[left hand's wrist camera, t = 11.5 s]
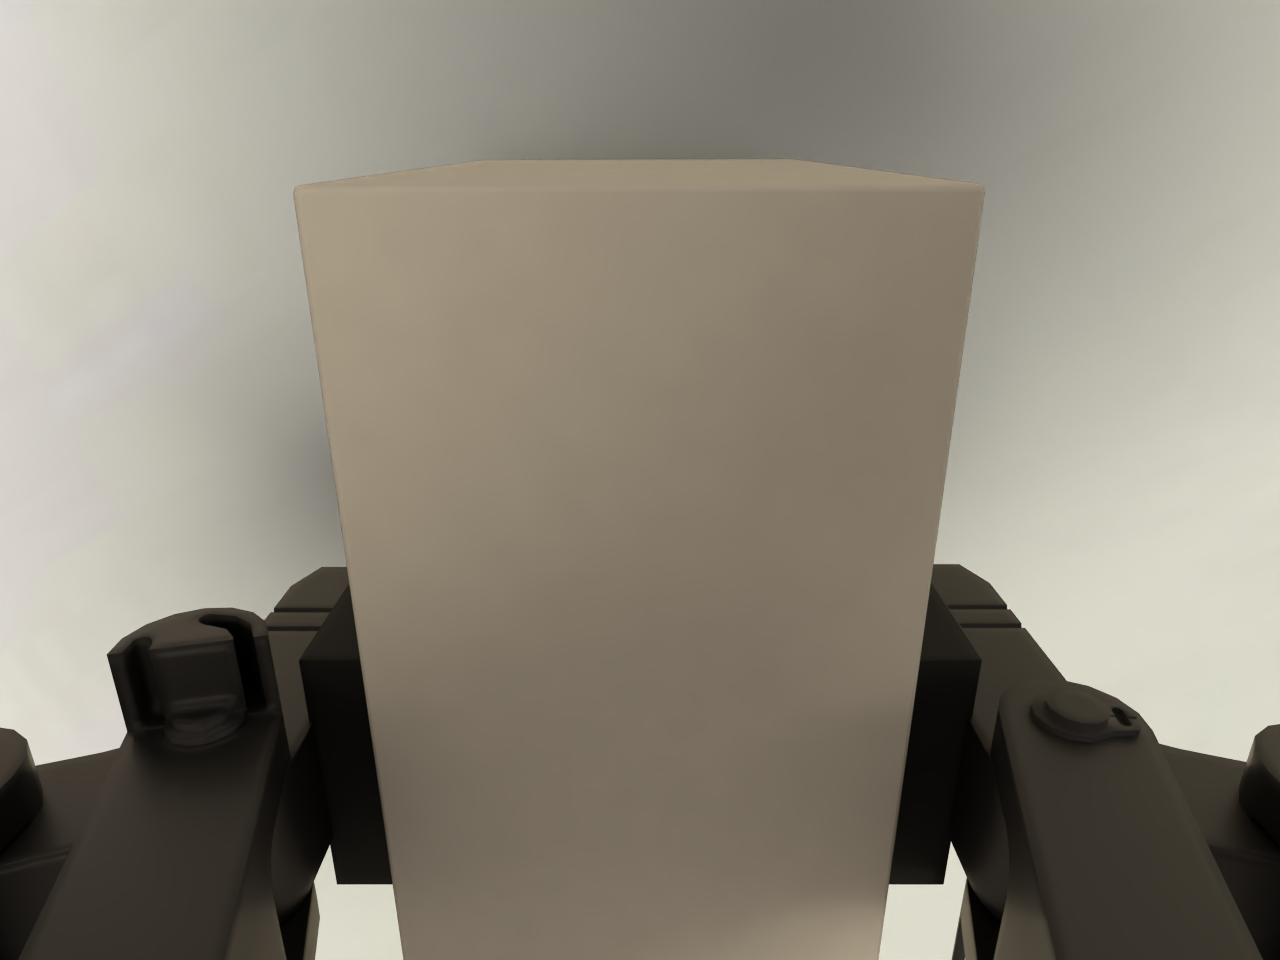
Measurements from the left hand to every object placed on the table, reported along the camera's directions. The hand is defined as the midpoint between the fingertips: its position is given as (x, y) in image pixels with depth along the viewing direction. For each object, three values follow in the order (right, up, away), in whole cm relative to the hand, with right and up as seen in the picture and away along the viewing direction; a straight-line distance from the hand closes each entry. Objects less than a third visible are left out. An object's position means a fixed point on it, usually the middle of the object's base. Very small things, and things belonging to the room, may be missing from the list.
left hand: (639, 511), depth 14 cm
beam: (0, -18, +8) cm, 20 cm away
